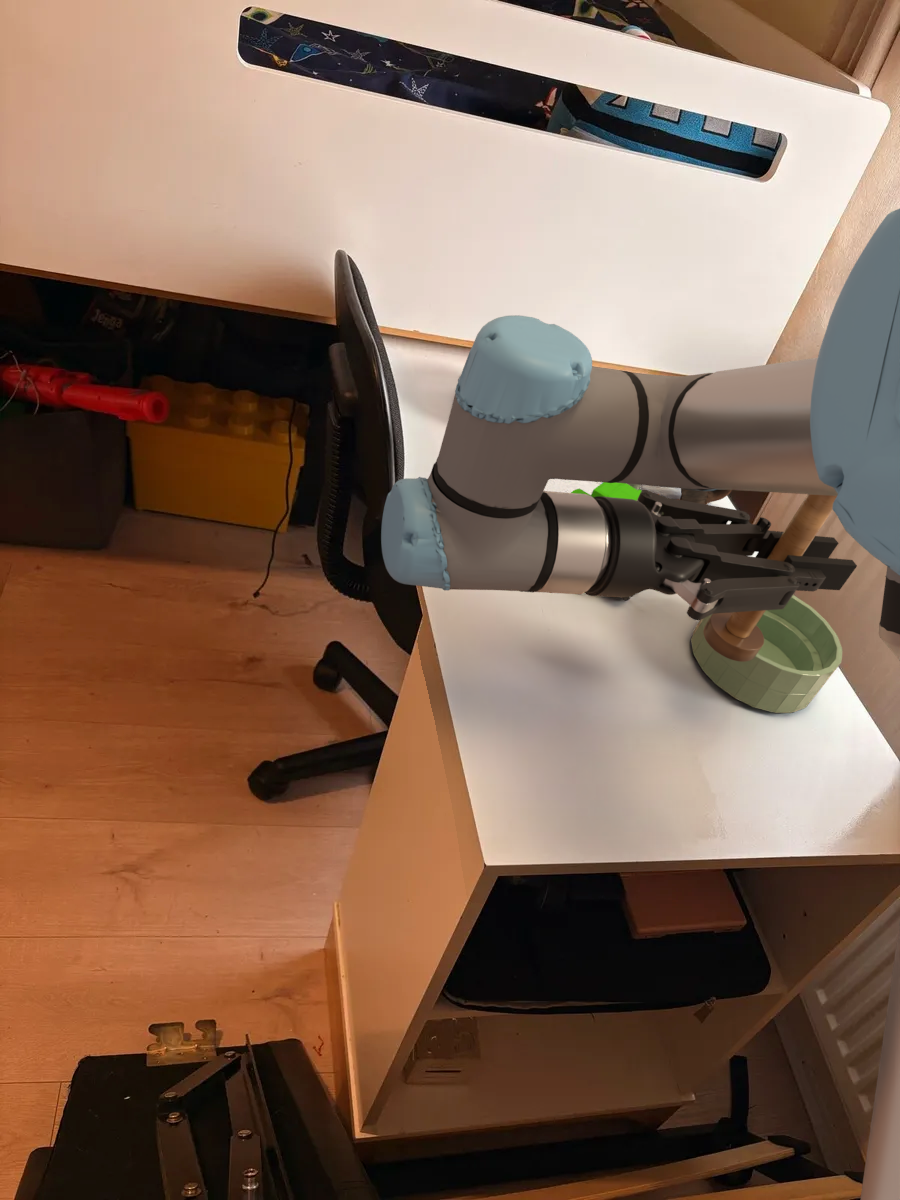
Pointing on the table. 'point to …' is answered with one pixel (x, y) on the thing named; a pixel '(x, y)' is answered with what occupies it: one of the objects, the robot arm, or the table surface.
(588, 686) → the table surface
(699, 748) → the table surface
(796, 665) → the bowl
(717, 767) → the table surface
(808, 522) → the brown rod with base
